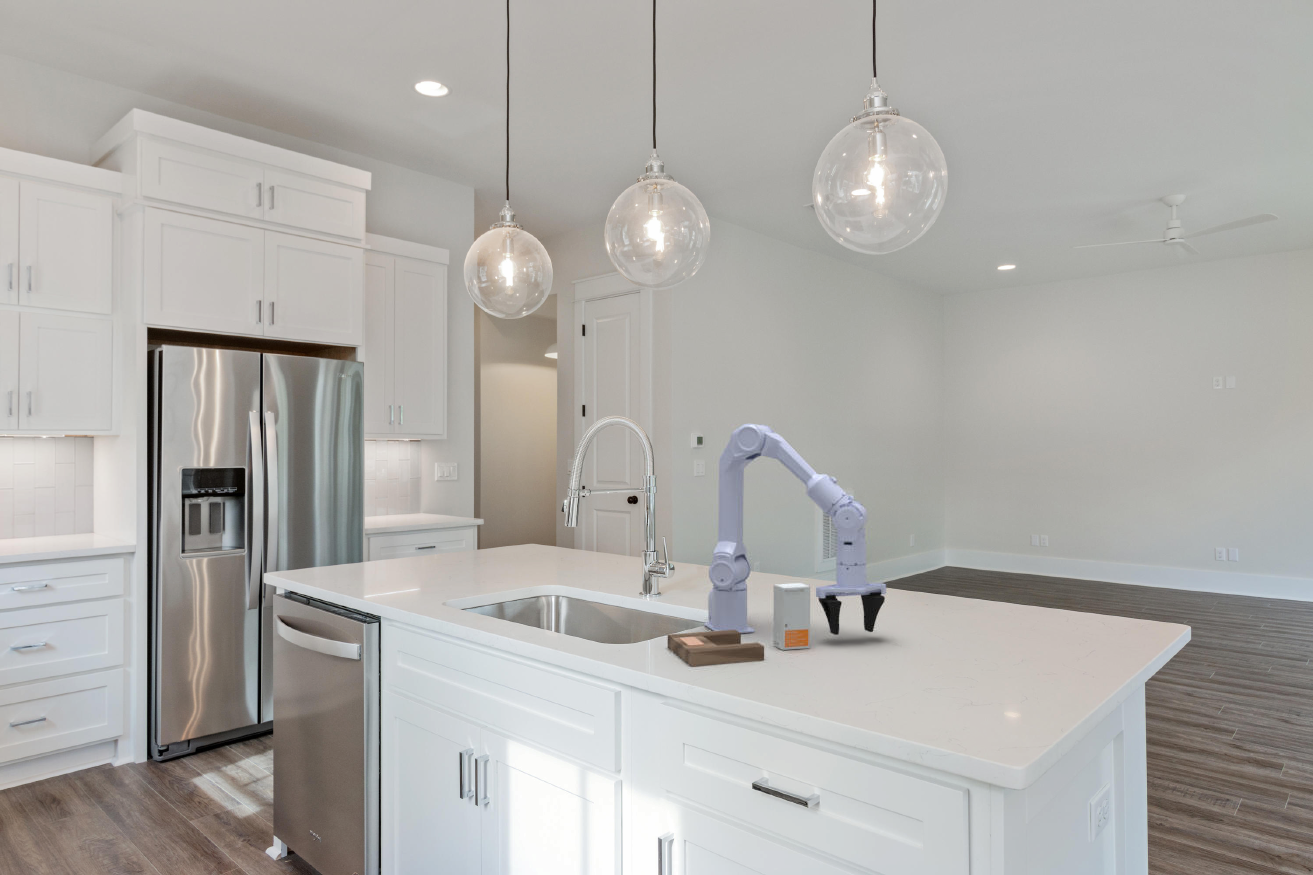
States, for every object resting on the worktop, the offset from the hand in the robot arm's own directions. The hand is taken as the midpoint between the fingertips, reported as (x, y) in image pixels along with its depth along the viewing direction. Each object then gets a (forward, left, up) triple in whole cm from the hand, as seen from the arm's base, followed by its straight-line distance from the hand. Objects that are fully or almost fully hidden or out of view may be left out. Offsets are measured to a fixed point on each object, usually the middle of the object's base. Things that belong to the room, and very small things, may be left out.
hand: (851, 632), depth 154 cm
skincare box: (0, -13, -2) cm, 13 cm away
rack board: (0, -29, -2) cm, 29 cm away
